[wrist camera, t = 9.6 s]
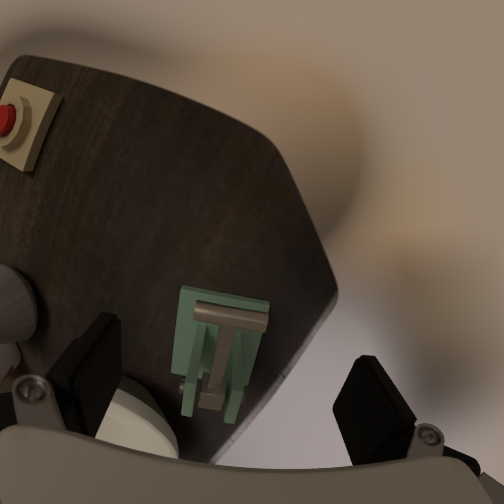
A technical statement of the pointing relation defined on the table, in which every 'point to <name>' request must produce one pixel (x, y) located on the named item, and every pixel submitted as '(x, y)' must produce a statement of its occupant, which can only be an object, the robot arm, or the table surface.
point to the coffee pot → (16, 307)
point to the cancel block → (27, 123)
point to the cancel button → (7, 119)
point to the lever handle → (223, 345)
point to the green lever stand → (213, 348)
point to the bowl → (137, 421)
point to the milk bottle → (8, 359)
